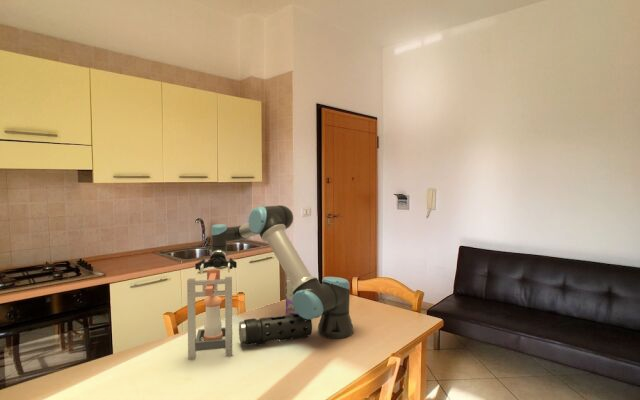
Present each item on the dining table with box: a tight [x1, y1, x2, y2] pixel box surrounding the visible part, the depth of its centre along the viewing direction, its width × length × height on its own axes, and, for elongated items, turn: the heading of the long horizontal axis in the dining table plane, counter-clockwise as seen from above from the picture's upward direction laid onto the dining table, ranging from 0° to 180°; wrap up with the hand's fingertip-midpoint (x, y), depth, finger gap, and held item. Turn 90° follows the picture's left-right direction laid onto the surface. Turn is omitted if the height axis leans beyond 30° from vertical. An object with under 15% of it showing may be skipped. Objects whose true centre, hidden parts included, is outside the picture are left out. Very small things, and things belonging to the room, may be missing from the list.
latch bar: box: [205, 268, 221, 297], centre depth 138 cm, size 22×5×5 cm, turn 12°
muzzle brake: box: [238, 314, 313, 346], centre depth 146 cm, size 10×28×10 cm, turn 110°
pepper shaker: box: [203, 296, 223, 341], centre depth 145 cm, size 7×7×19 cm
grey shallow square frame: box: [196, 327, 225, 351], centre depth 145 cm, size 12×12×3 cm
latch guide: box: [186, 276, 233, 361], centre depth 133 cm, size 2×15×29 cm, turn 102°
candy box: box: [285, 278, 297, 315], centre depth 177 cm, size 14×6×16 cm, turn 77°
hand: (215, 269), depth 158 cm, fingers open, 11 cm apart
